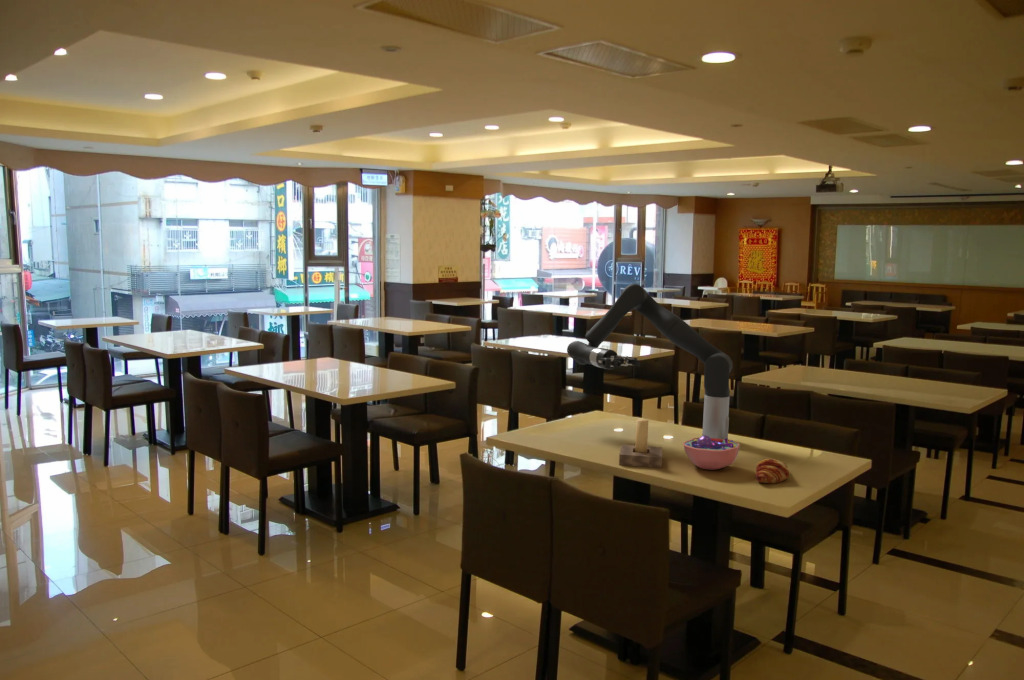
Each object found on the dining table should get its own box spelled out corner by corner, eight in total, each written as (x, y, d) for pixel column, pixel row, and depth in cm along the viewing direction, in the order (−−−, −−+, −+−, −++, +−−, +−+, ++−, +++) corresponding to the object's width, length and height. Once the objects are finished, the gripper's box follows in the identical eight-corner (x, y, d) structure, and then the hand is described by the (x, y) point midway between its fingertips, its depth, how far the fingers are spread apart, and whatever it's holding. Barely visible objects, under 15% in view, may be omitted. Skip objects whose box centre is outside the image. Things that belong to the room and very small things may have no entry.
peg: (646, 459, 261) (648, 419, 260) (646, 462, 257) (648, 422, 256) (634, 458, 262) (636, 418, 260) (634, 461, 258) (636, 421, 256)
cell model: (751, 470, 251) (753, 437, 250) (706, 478, 241) (708, 443, 240) (714, 458, 266) (716, 426, 264) (670, 464, 256) (672, 431, 254)
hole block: (661, 457, 265) (662, 447, 265) (661, 467, 251) (662, 457, 251) (621, 454, 268) (621, 444, 267) (619, 464, 254) (619, 454, 254)
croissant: (774, 480, 253) (765, 457, 255) (803, 471, 247) (793, 448, 249) (750, 493, 237) (740, 468, 238) (780, 484, 231) (769, 459, 232)
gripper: (588, 349, 288) (614, 354, 274) (618, 347, 295) (645, 353, 281) (587, 368, 289) (613, 375, 275) (618, 367, 296) (644, 373, 282)
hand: (629, 364), depth 278 cm, fingers open, 8 cm apart
